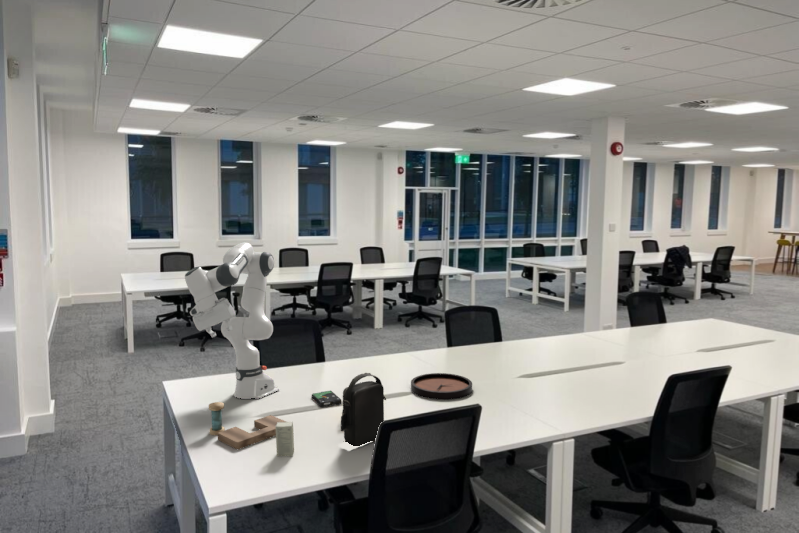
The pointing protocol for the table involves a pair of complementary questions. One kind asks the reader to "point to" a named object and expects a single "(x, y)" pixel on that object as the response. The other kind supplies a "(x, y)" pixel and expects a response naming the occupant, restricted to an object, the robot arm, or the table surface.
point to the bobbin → (216, 417)
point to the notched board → (242, 438)
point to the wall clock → (441, 386)
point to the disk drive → (326, 398)
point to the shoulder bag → (362, 410)
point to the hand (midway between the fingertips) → (222, 333)
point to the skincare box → (284, 439)
